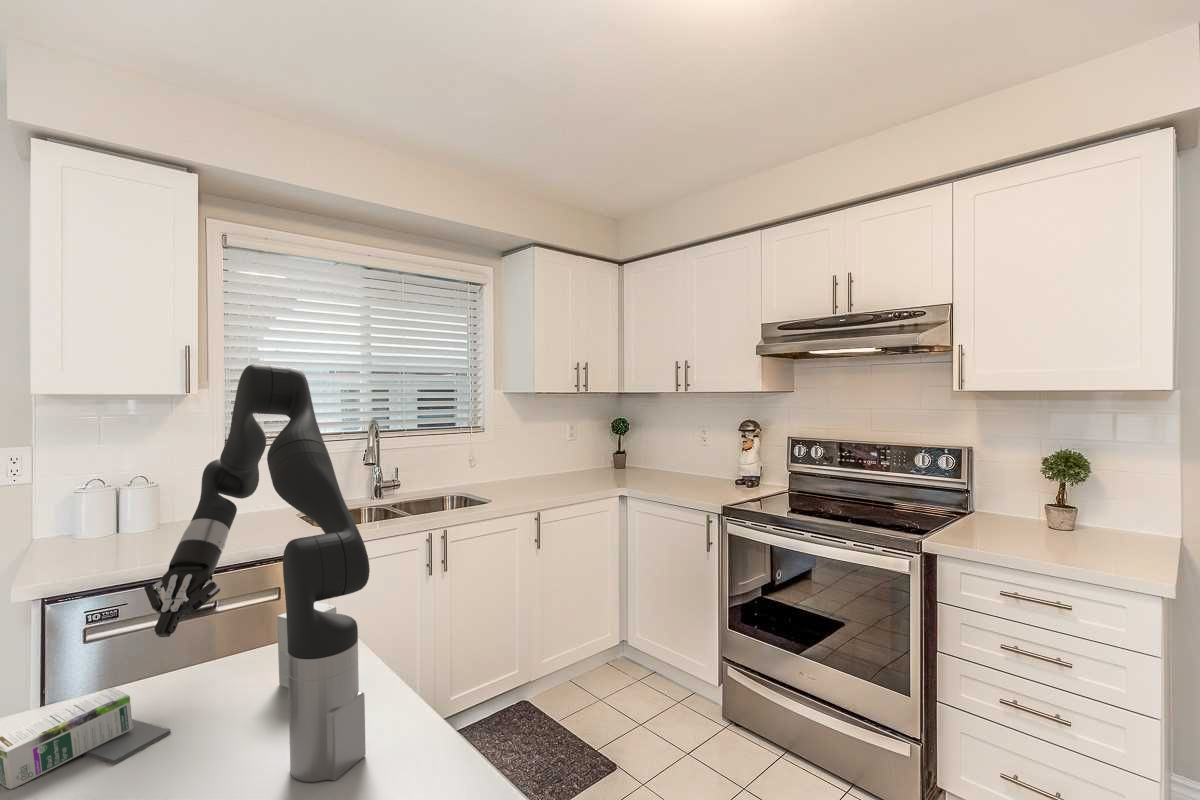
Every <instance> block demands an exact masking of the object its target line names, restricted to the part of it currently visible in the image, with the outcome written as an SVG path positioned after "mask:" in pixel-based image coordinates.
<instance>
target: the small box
mask: <svg viewBox="0 0 1200 800" xmlns="http://www.w3.org/2000/svg"><path fill="white" fill-rule="evenodd" d="M314 609H316V610H318V611H321V612H326V613H336V614H337V607H336V606H334V605H330V604H327V603H323V602H320V601H316V602H314ZM276 623H277V627H276V629H277V651H278V655H277V657H278V676H279V677H278V682H279V686H281V687H284V686H285V687H284V688H288V689H289V686H288V639H287V617H286V612H284V613H282V614H279V615H278V614H277V616H276Z"/></svg>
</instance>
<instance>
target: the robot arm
mask: <svg viewBox="0 0 1200 800" xmlns="http://www.w3.org/2000/svg"><path fill="white" fill-rule="evenodd" d="M236 388H237V389H236V393H235V397H234V398H235V399H234V404H233V410H232V415H231V422H230V429H229V434H228V435H227V436H228V437H227V440H226V442H225V444H224V447H223V449H222V451H221V454H220V457H219V459H214V460H211V461H210V462H209V463H208V464H206V466H205V468H204V469H203V472H202V477H201V485H200V487H201V488H200V489H201V490H200V496H199V501H198V505H197V507H196V509H195V512H194V514H193V515H192V517H191V521H190V523H189V525H188V526H187V528H186V529H185V530H184V532H183V534H182V536H181V538H180V541H179V543H178V545H177V546H176V549H175V551H174V553H173V555H172V557H171V559H170V562H169V564H168V565H169V566H168V570H167V571H166V572H165V574H163V575H162V576H161V579H160V581H158V582H156V583H154V584H152V583H148V584H146V585H144V588H143V589H144V591H145V593H146V596H147V599H148V601H149V604H150V606H151V608H152V610H154V611H155V612H156V613H158V615H159V618H158V620H157V622H156V624H155V626H154V632H155V635H156V636H157V637H159V638H170V637H171V635H172V634H173V633H175V632H176V630H177V627H178V625H179V623H180V619H181V618H182V617H183V616H184V615H187V614H194V613H195V612H197V610H199V609H200V608H201V607H203V606H204V605H205V604H206V603H207V602H209V601H210V600H212V598H214V597H215V596H216V595H217V594H218V593H220V591H221V587H220V586H219V585H218V584H217V583H216V582H215V581H213V573H215V570H216V569H217V565H218V563H219V561H220V558H221V556H222V553H223V551H224V549H225V546H226V543H227V540H228V536H229V532H230V531H231V527H232V526H233V522H234V520H235V517H236V515H237V512H238V508H237V507H238V506H237V505H236V504H235V503H234V501H233V502H232V500H230V499H228V498H226V497H231V498H234V499H247V498H249V497H251V496H252V495H254V493H255V492H256V491H257V488H258V486H259V481H260V469H259V463H260V461H261V459H262V457H263V455H264V452H265V450H266V447H267V438H266V435H265V434H266V433H265V432H264V430H263V428H262V427H261V425H260V424H259V423H258V422H257V420H256V418H255V416H254V414H259V415H260V414H261V415H275V416H276V415H279V416H280V415H283V416H287V417H288V418H289V421H288V423H287V424H286V425H285V426H284V427H283V428H282V429H281V431H280V432H279V433H278V435H277V436H276V437H275V438H274V440H273V441H272V443H271V444H270V447H269V448H268V451H267V454H266V461H267V467H268V471H269V475H270V479H271V484H272V485H273V486H272V487H273V489H274V491H275V492H276V493H277V494H278V496H279V497H280V498H281V499H282V500H283V501H285V503H287V504H288V505H290V506H291V507H292V508H294V510H295V509H296V510H297V511H298V512H300V513H302V514H303V515H305V517H308V518H309V519H311V520H312V521H313V522H314V523H316V524H317V525H318V526H319V527H320V528H321V530H322V531H323V532H324V533H321V534H317V535H311V536H310V535H309V536H305V537H304V536H303V537H297V538H294V539H291V540H290V541H288V542H287V544H286V546H285V548H284V551H283V556H282V576H283V577H282V578H283V585H284V586H283V588H284V595H285V599H284V600H285V613H286V617H287V639H288V686H289V688H288V727H289V728H288V729H289V730H288V731H289V734H288V735H289V758H290V759H289V767H290V768H289V769H290V774H291V776H292V777H293V778H294V779H296V780H297V781H300V782H305V783H306V782H307V783H308V782H309V783H314V782H320V781H327V780H328V781H336V780H337V779H339V778H340V777H341V776H342V775H344V774H345V773H346V772H348V771H349V769H351V768H353V766H355V765H356V764H357V763H358V762H359V761H360V760H362V759H363V758H365V756H366V755H367V754H366V753H367V752H366V751H367V750H366V749H367V748H366V709H365V708H366V707H365V706H366V705H365V704H366V703H365V702H366V700H365V692H363V691H360V690H359V689H360V688H359V687H360V686H359V684H360V681H359V680H360V679H359V636H358V635H359V632H358V631H359V630H358V623H357V621H356V620H355V619H354V618H353V617H352V616H349V615H346V614H341V613H337V612H336V613H326V612H321V611H318V610H316V609H314V602H320V601H325V600H329V599H333V598H338V597H343V596H347V595H351V594H354V593H356V592H359V591H361V590H362V589H364V588H365V587H366V585H367V583H368V581H369V578H370V572H371V571H370V560H369V556H368V552H367V548H366V545H365V543H364V540H363V538H362V536H361V534H360V531H359V529H358V526H357V525H356V522H355V519H354V518H353V517H352V514H351V512H350V510H349V508H348V505H347V504H346V501H345V499H344V498H343V495H342V491H341V488H340V485H339V482H338V480H337V477H336V476H337V475H336V473H335V469H334V465H333V462H332V460H331V457H330V454H329V452H328V449H327V445H326V444H325V441H324V438H323V436H322V433H321V430H320V427H319V424H318V422H317V418H316V413H315V410H314V406H313V400H312V395H311V391H310V386H309V382H308V379H307V378H306V375H305V373H304V372H303V371H302V370H300V369H299V368H295V367H292V366H291V367H290V366H283V365H282V366H281V365H271V364H262V363H261V364H260V363H256V364H255V363H254V364H249V365H247V366H246V367H245V368H244V369H243V370H242V373H241V375H240V377H239V380H238V383H237V387H236ZM222 495H223V496H222ZM224 496H226V497H224ZM163 589H164V592H165V594H164V595H163V596H164V597H163V599H162V597H161V596H162V594H163ZM163 600H164V601H163Z"/></svg>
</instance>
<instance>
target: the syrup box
mask: <svg viewBox="0 0 1200 800" xmlns="http://www.w3.org/2000/svg"><path fill="white" fill-rule="evenodd" d="M132 714H133V713H132V705H131V696H130V695H129V694H127V693H125V692H123V691H120V690H118V689H116V688H115V687H111V688H108V689H107V690H104V691H102V692H100V693H97V694H95V695H93V696H90V697H88V698H86V699H83V700H81V701H79V702H77V703H74V704H72V705H69V706H67V707H65V708H62V709H60V710H58V711H56V712H54V713H52V714H48V715H47V716H45V717H42V718H40V719H37V720H35V721H33V722H31V723H29V724H27V725H24V726H21V727H19V728H17V729H14V730H13V731H10V732H8V733H6V734H3V735H1V736H0V784H1V785H2V786H3V787H6V788H7V789H9V790H14V789H15V788H18V787H19V786H21V785H24V784H26V783H28V782H30V781H32V780H34V779H35V778H38V777H40V776H42V775H43V774H46V773H48V772H49V771H51V770H54V769H55V768H57V767H59V766H62V765H64V764H65V763H67V762H70V761H71V760H73V759H75V758H78V757H79V756H82V755H83V753H85V752H87V751H89V750H91V749H93V748H95V747H97V746H99V745H101V744H103V743H105V742H107V741H109V740H111V739H113V738H115V737H118V736H120V735H122V734H124V733H126V732H128V731H130V730H132V729H133V728H134V726H133V723H132V719H133V715H132ZM13 788H14V789H13Z"/></svg>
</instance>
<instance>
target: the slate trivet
mask: <svg viewBox="0 0 1200 800" xmlns="http://www.w3.org/2000/svg"><path fill="white" fill-rule="evenodd" d="M132 723H133V726H134V728H133V729H132V730H130V731H128V732H126V733H124V734H122V735H120V736H118V737H115V738H113V739H111V740H109V741H107V742H105V743H103V744H101V745H99V746H97V747H95V748H93V749H91V750H89V751H87V752H85V753H83V754H82V755H83V756H87V757H90V758H92V759H97V760H100V761H102V762H105V763H108V764H112V765H116V764H118V763H120V762H121V761H123V760H126V758H129V757H130V756H133V755H134V754H135V753H137V752H139V751H141V750H143V749H145V748H147V747H148V745H149V746H151V745H152V744H155V743H156V742H158V741H160V740H161V739H163V738H165V737H167V736H168V735H171V734H172V732H171V731H172V730H171V728H165V727H162V726H158V725H155V724H152V723H151V724H150V723H147V722H144V721H140V720H136V719H133V718H132ZM170 733H171V734H170ZM150 744H151V745H150ZM146 746H147V747H146Z"/></svg>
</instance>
